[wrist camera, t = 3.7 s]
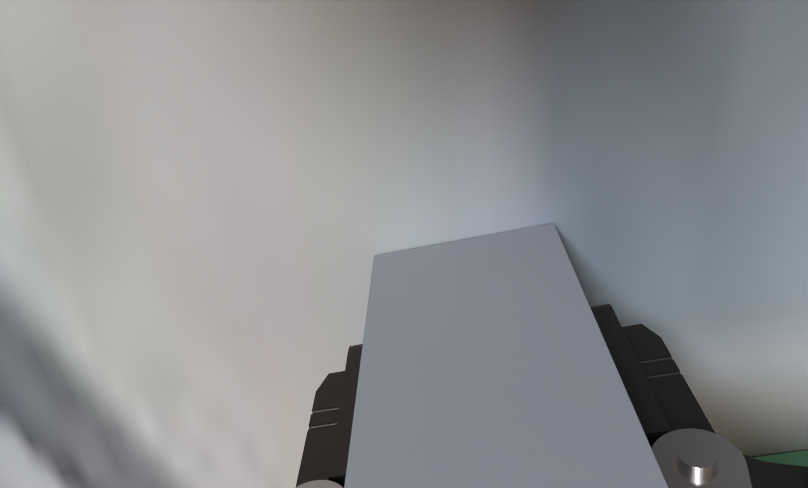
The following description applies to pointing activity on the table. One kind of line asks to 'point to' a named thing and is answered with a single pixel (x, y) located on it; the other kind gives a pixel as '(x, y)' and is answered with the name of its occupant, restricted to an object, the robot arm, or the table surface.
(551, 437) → the plug
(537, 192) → the table surface
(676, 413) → the robot arm
